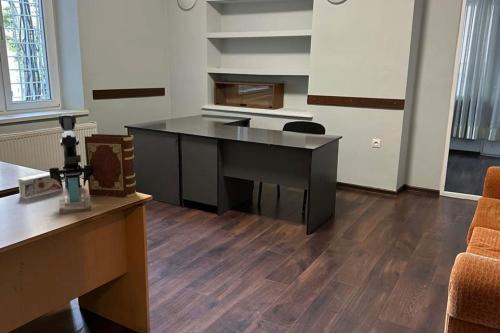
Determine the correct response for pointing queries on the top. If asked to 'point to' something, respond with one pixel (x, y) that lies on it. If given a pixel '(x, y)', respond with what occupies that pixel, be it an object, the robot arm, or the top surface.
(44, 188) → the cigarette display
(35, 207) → the top surface
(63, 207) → the book stand
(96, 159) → the decorative book
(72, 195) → the teal rectangular block
